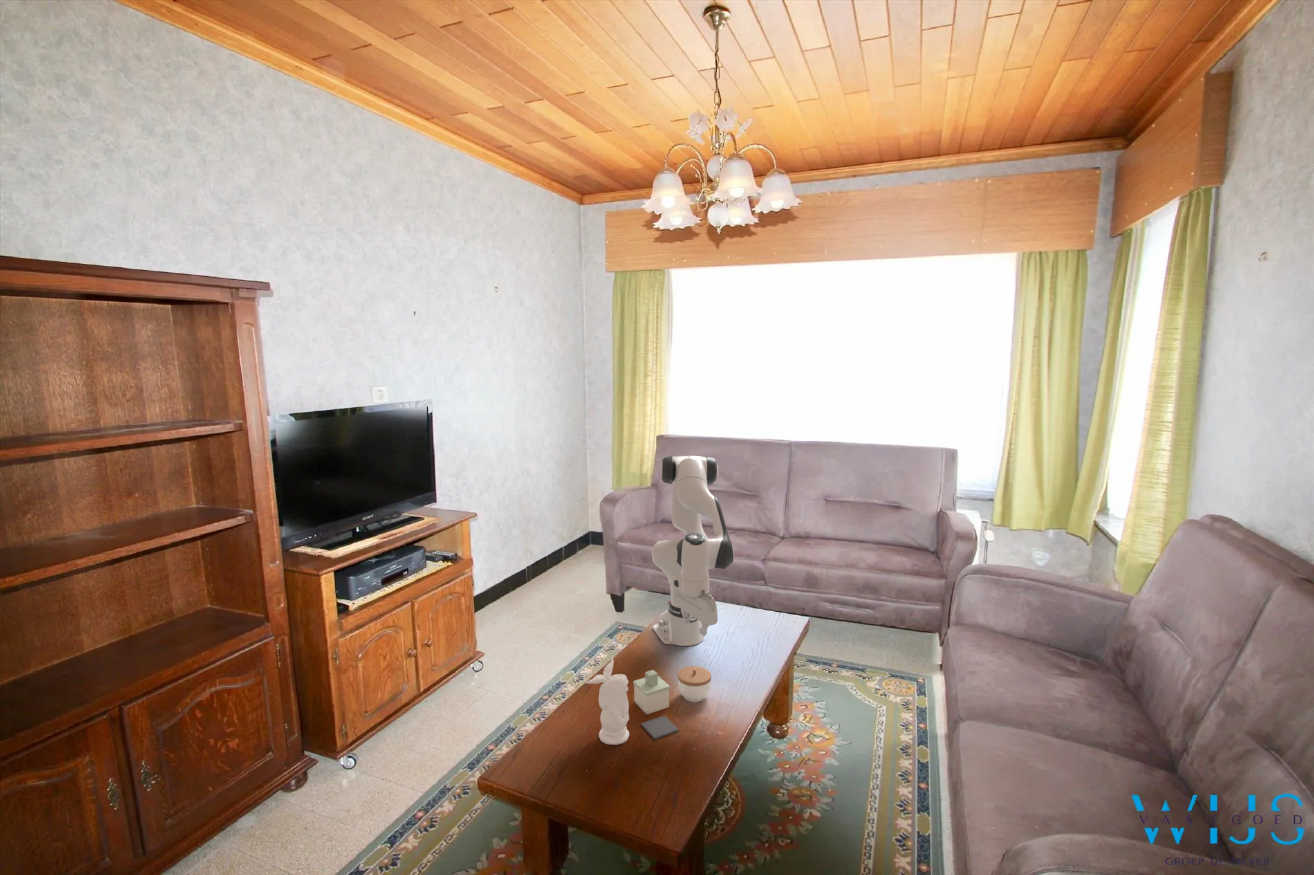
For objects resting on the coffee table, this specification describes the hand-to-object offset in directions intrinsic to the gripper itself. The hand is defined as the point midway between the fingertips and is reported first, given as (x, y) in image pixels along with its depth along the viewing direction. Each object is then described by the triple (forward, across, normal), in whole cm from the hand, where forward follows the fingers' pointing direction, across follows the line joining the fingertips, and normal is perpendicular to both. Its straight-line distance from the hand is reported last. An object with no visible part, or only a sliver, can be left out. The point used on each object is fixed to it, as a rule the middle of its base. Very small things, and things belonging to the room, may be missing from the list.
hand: (694, 628), depth 193 cm
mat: (+23, -9, +18) cm, 31 cm away
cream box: (+23, +3, +14) cm, 27 cm away
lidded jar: (+23, 0, 0) cm, 23 cm away
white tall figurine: (+23, -5, +33) cm, 41 cm away
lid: (+17, +3, +14) cm, 22 cm away
